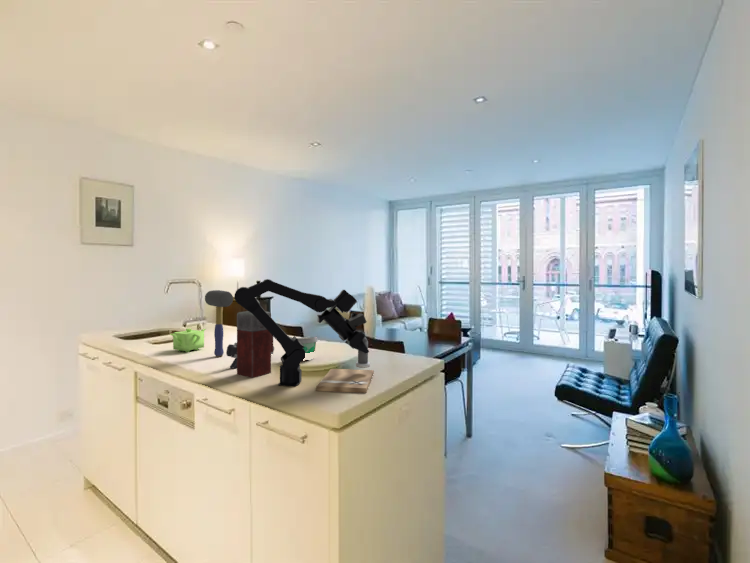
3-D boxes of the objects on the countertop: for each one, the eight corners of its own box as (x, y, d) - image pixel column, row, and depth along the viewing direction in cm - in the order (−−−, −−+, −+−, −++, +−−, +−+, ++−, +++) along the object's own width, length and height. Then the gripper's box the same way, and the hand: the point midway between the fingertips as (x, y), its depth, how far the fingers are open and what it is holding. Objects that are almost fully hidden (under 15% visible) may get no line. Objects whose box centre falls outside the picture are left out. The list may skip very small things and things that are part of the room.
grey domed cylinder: (354, 367, 141) (355, 337, 140) (356, 364, 146) (357, 335, 145) (369, 368, 140) (369, 338, 140) (370, 364, 145) (371, 335, 145)
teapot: (169, 354, 180) (169, 331, 180) (172, 348, 192) (172, 327, 192) (205, 352, 186) (205, 329, 185) (206, 346, 198) (206, 326, 198)
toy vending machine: (275, 371, 151) (276, 299, 150) (252, 377, 141) (252, 300, 141) (260, 368, 156) (260, 298, 155) (236, 374, 146) (236, 299, 146)
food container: (290, 362, 166) (290, 339, 165) (289, 359, 171) (289, 336, 171) (319, 361, 169) (319, 338, 169) (317, 358, 175) (317, 335, 175)
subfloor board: (316, 390, 127) (316, 385, 127) (331, 372, 150) (331, 368, 150) (366, 392, 125) (366, 387, 125) (373, 374, 148) (373, 369, 148)
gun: (221, 367, 152) (226, 341, 153) (267, 368, 173) (271, 345, 175) (226, 368, 150) (231, 342, 152) (271, 369, 172) (275, 346, 174)
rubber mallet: (234, 356, 176) (234, 290, 175) (219, 359, 169) (219, 291, 169) (218, 353, 183) (218, 289, 182) (203, 356, 177) (203, 290, 176)
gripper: (359, 308, 132) (390, 339, 136) (347, 304, 150) (374, 331, 154) (336, 332, 130) (368, 363, 134) (326, 325, 148) (354, 352, 151)
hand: (366, 351), depth 143 cm, fingers closed on grey domed cylinder, 4 cm apart
